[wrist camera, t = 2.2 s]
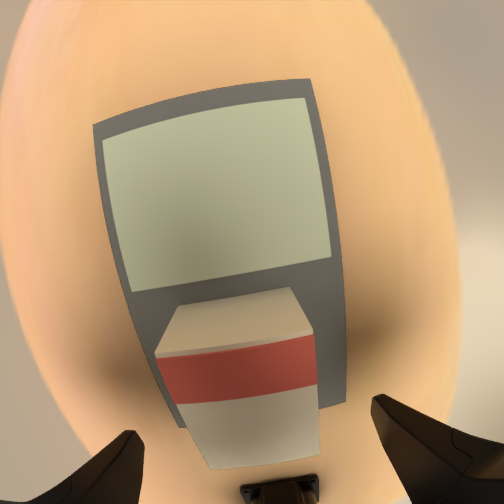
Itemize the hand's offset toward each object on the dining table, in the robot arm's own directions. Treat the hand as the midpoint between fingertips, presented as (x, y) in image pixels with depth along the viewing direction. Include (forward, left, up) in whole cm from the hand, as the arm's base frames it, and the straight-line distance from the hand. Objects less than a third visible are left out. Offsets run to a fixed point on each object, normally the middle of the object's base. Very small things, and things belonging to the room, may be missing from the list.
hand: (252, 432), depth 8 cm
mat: (+4, 0, -5) cm, 7 cm away
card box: (0, 0, -5) cm, 5 cm away
